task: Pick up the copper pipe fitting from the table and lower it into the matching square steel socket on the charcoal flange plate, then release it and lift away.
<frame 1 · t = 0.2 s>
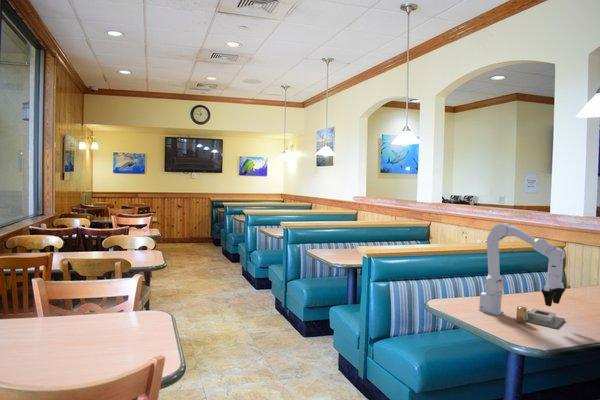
hand: (552, 304, 206), 10 cm above the table, fingers open, 7 cm apart
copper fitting: (520, 322, 209), on the table
flange socket: (541, 320, 213), on the table
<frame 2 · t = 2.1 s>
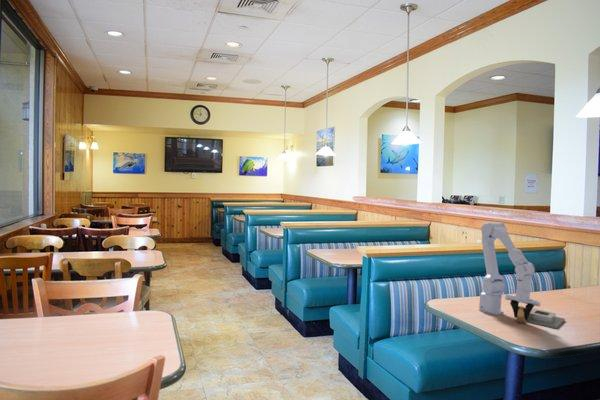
hand: (521, 318, 209), 2 cm above the table, fingers closed on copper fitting, 4 cm apart
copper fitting: (520, 322, 209), on the table, touching gripper
when the fingers open (4 cm above the table, at t = 5.8 s): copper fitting drops 1 cm, resting on flange socket.
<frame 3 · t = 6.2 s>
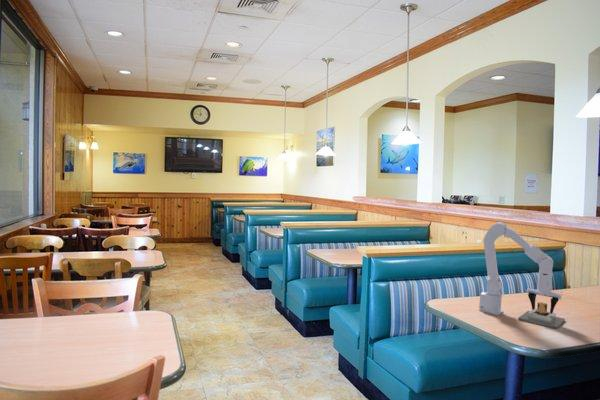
hand: (542, 311, 213), 4 cm above the table, fingers open, 7 cm apart
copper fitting: (541, 318, 213), point 1 cm above the table, touching flange socket
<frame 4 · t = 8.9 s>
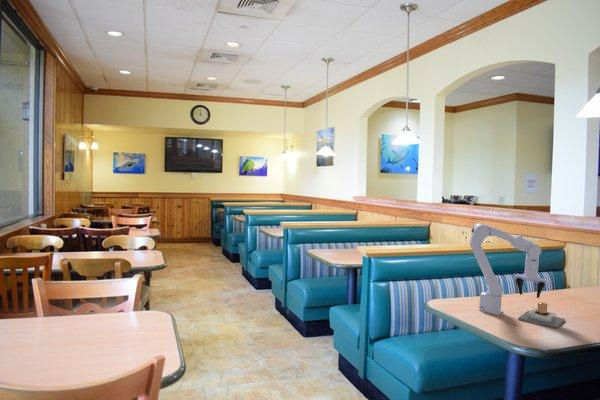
hand: (529, 295, 220), 9 cm above the table, fingers open, 7 cm apart
nothing on the table moved.
at the end: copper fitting 0.3 cm off-centre on the flange socket, point 1.0 cm above the flange socket's base; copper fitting tilted 0°; the gripper is holding nothing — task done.
